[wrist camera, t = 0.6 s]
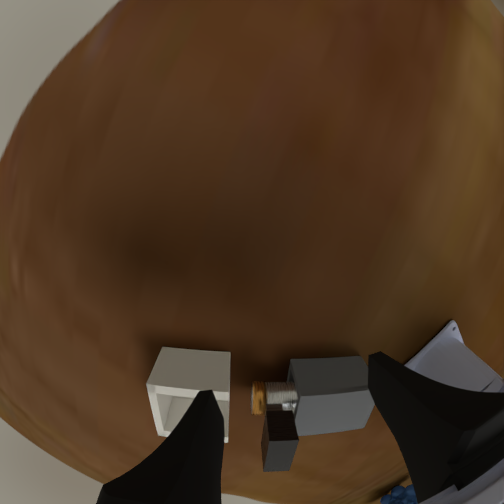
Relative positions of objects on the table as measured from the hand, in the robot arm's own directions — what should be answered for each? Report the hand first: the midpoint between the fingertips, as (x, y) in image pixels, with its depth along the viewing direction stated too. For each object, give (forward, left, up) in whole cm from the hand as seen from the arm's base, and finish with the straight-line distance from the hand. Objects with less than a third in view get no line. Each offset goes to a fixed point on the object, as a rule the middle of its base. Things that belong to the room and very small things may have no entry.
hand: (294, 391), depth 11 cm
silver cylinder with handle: (-8, +3, -9) cm, 12 cm away
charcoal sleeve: (-9, +2, -10) cm, 13 cm away
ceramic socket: (-1, +9, -10) cm, 14 cm away
